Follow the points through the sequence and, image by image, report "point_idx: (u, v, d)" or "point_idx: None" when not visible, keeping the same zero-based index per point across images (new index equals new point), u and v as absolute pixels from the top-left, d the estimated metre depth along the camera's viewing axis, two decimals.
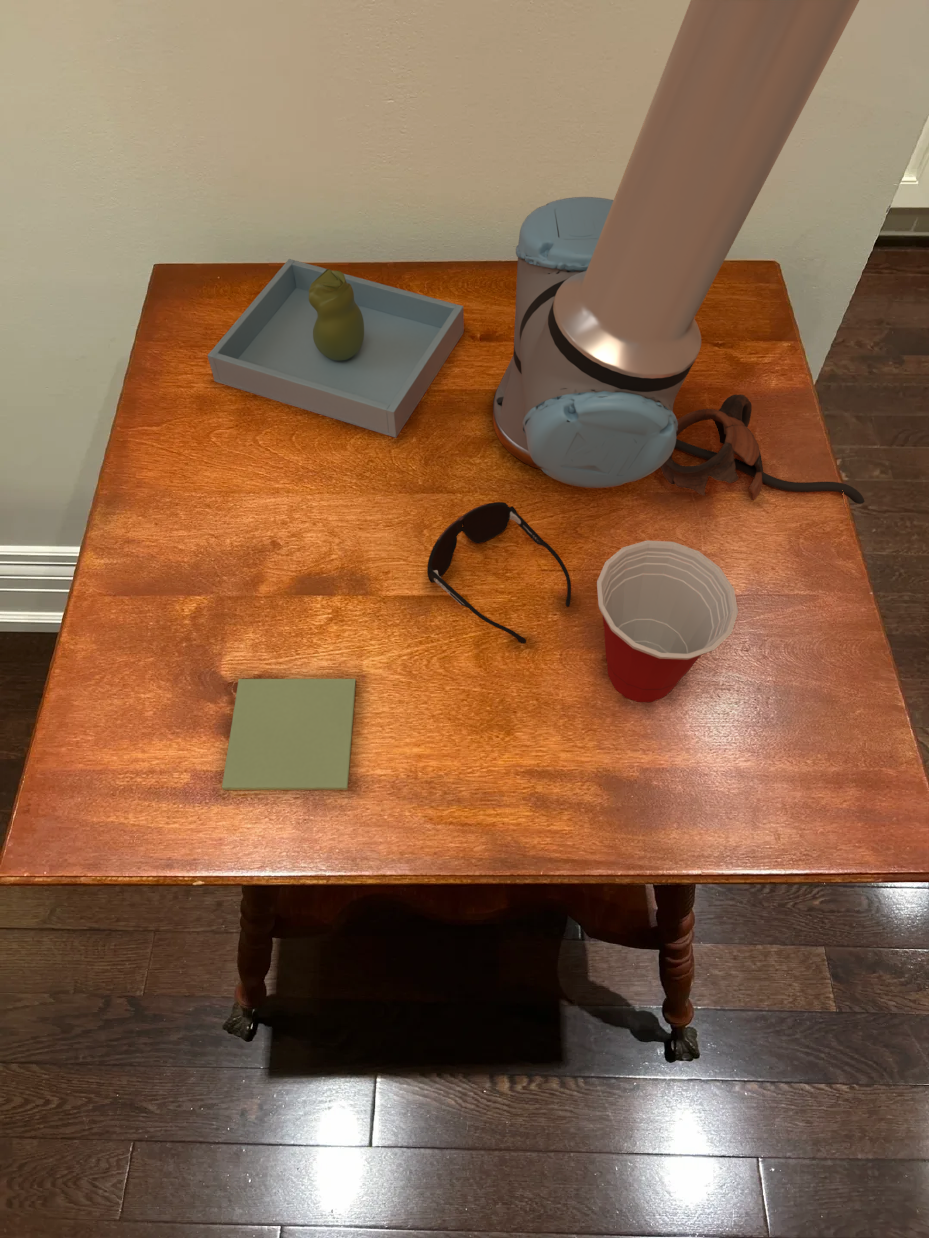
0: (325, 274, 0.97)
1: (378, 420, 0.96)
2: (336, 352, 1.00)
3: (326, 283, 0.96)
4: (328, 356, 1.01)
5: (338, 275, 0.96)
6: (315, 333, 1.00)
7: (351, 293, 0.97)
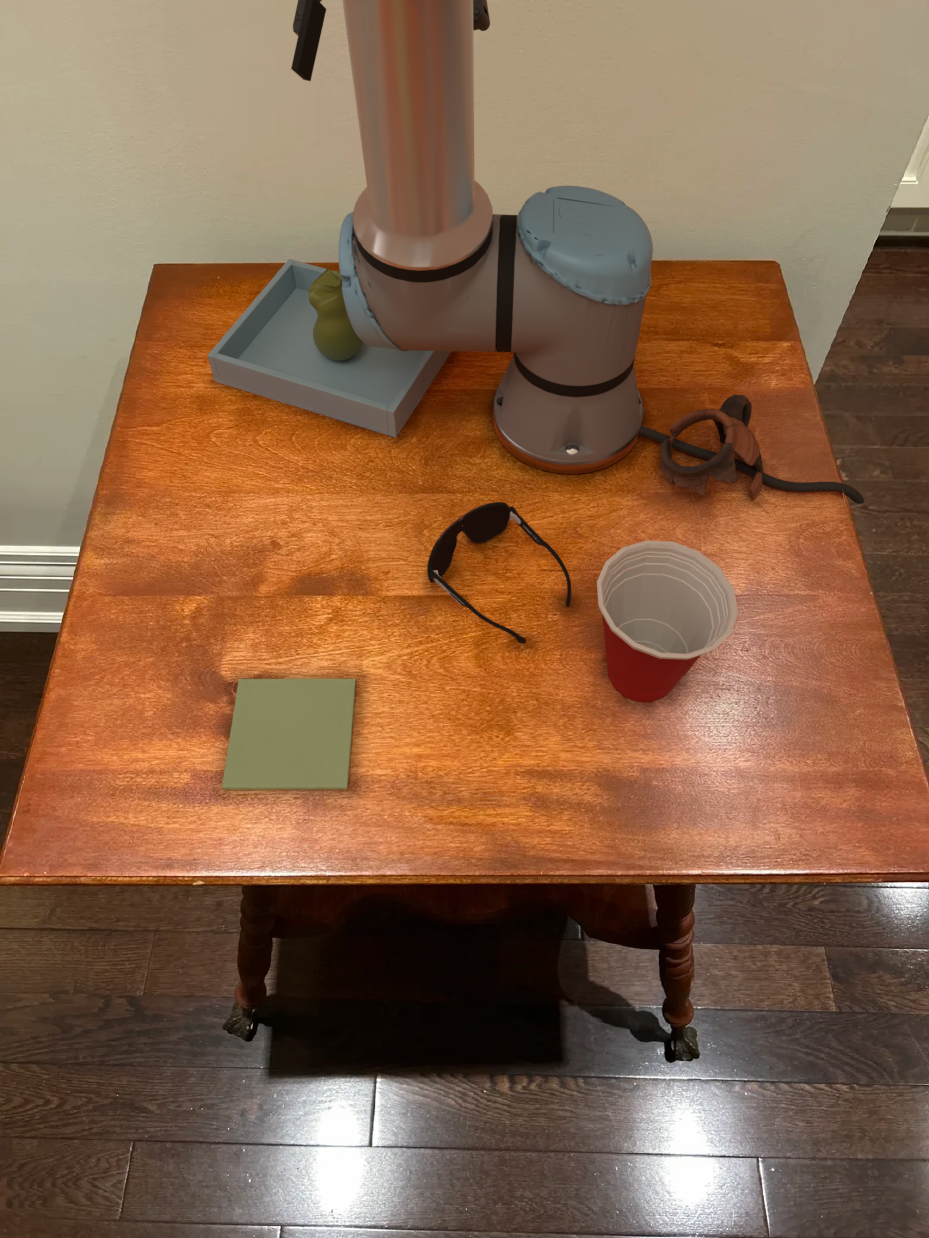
0: (325, 274, 0.97)
1: (378, 420, 0.96)
2: (336, 352, 1.00)
3: (326, 283, 0.96)
4: (328, 356, 1.01)
5: (338, 275, 0.96)
6: (315, 333, 1.00)
7: None
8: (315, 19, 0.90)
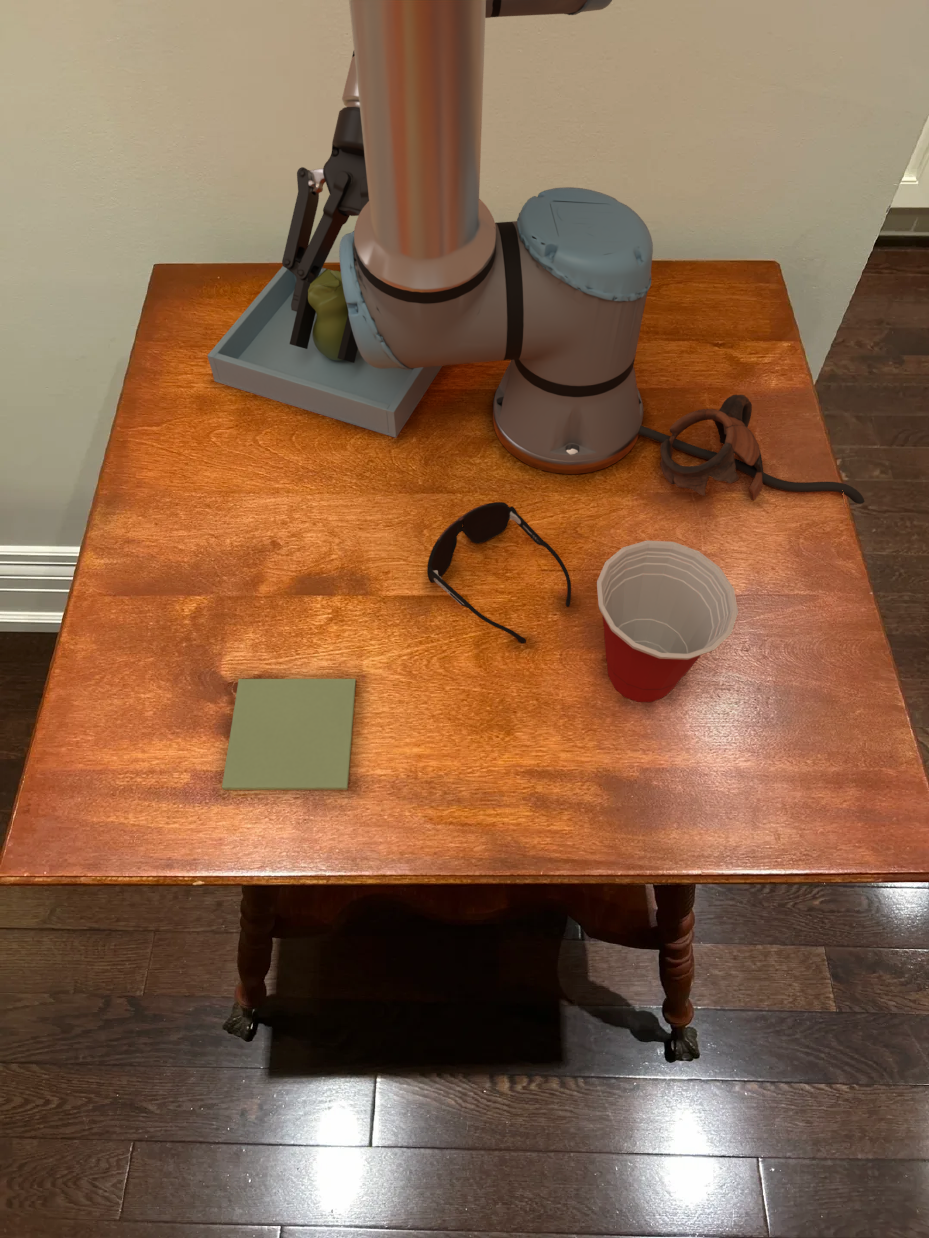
0: (324, 274, 0.97)
1: (378, 420, 0.96)
2: (335, 351, 1.00)
3: (325, 283, 0.96)
4: (328, 356, 1.01)
5: (337, 275, 0.96)
6: (314, 333, 1.00)
7: None
8: None
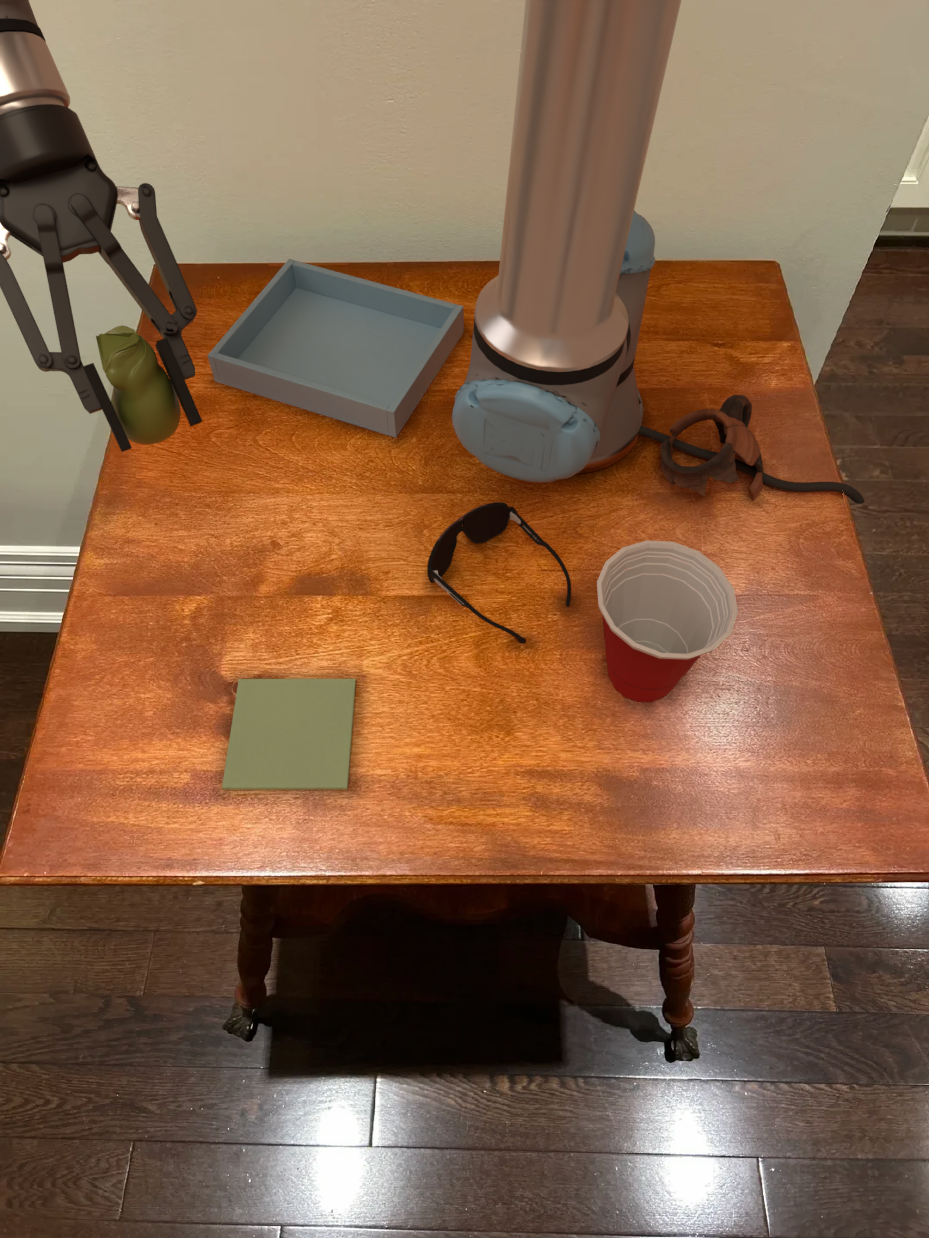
0: (104, 340, 0.70)
1: (378, 420, 0.96)
2: (169, 425, 0.74)
3: (121, 346, 0.69)
4: (158, 439, 0.75)
5: (121, 331, 0.70)
6: (132, 421, 0.73)
7: (148, 343, 0.71)
8: None
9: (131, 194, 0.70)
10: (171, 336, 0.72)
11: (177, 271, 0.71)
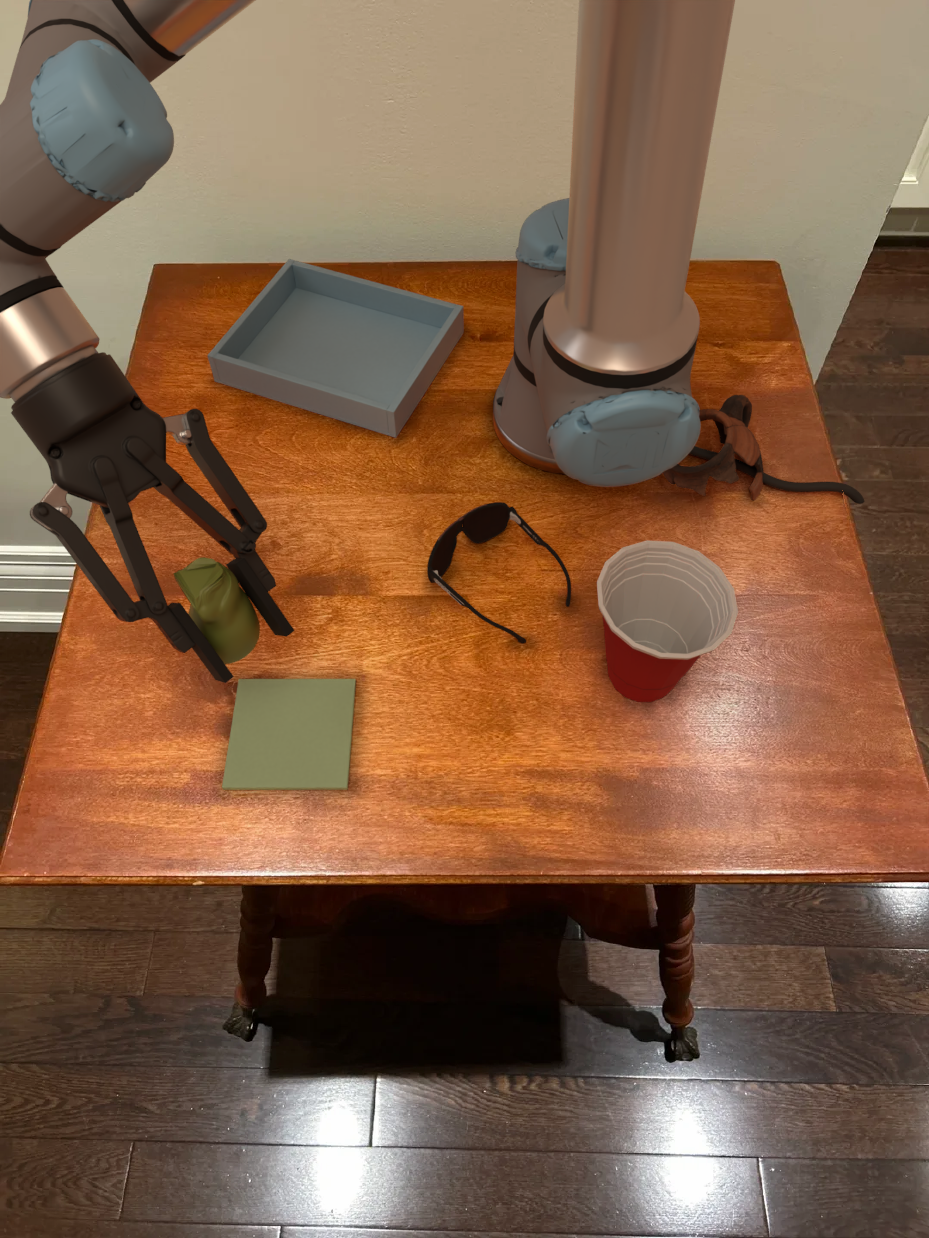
0: (186, 577, 0.66)
1: (378, 420, 0.96)
2: (255, 640, 0.72)
3: (207, 581, 0.66)
4: (244, 656, 0.72)
5: (200, 563, 0.67)
6: (222, 647, 0.70)
7: None
8: None
9: (178, 422, 0.67)
10: (246, 554, 0.69)
11: (240, 488, 0.68)
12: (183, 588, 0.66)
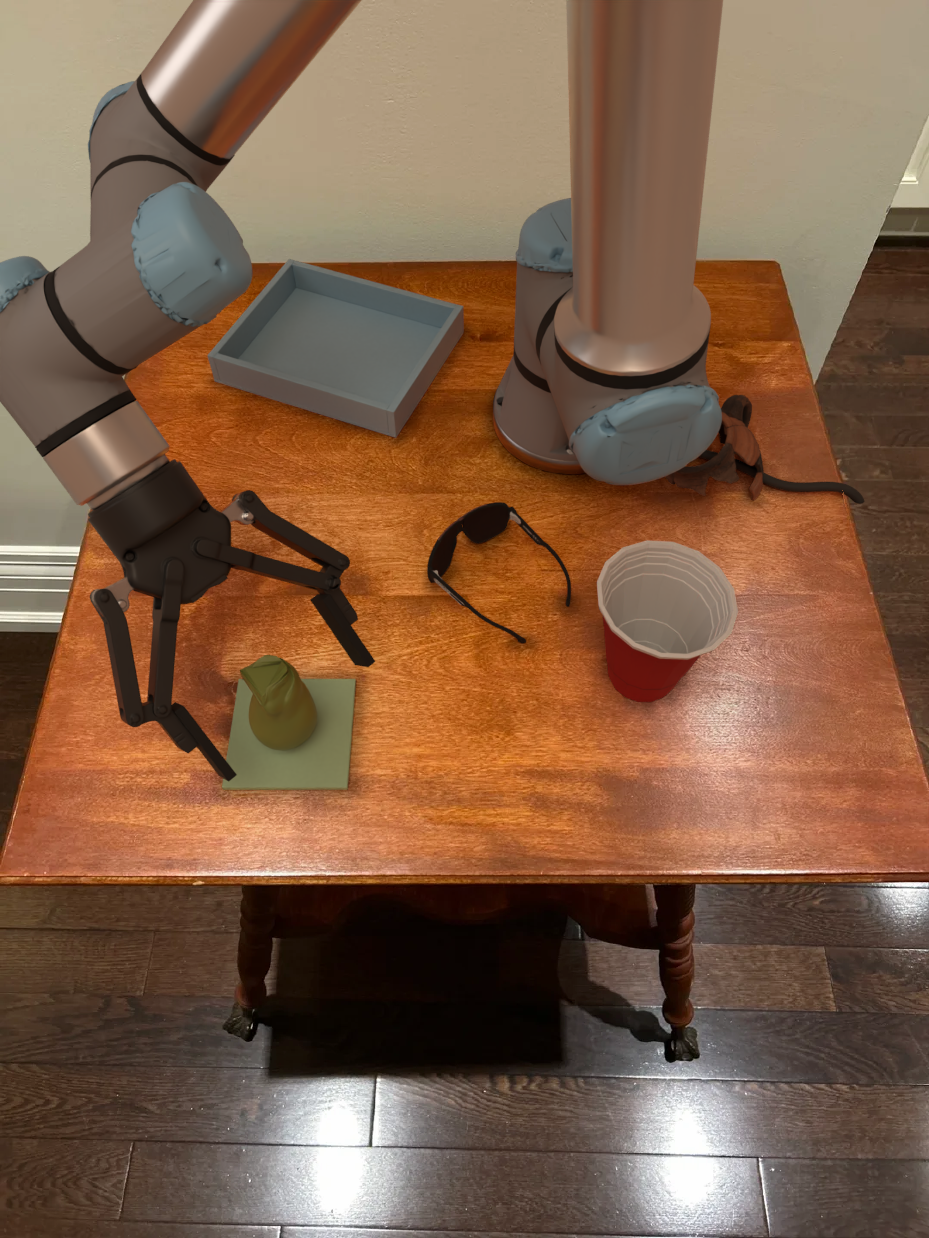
0: (252, 675, 0.70)
1: (378, 420, 0.96)
2: (313, 728, 0.76)
3: (273, 678, 0.70)
4: (303, 742, 0.76)
5: (265, 661, 0.71)
6: (283, 736, 0.74)
7: None
8: None
9: (236, 508, 0.70)
10: None
11: (314, 539, 0.72)
12: (249, 685, 0.70)
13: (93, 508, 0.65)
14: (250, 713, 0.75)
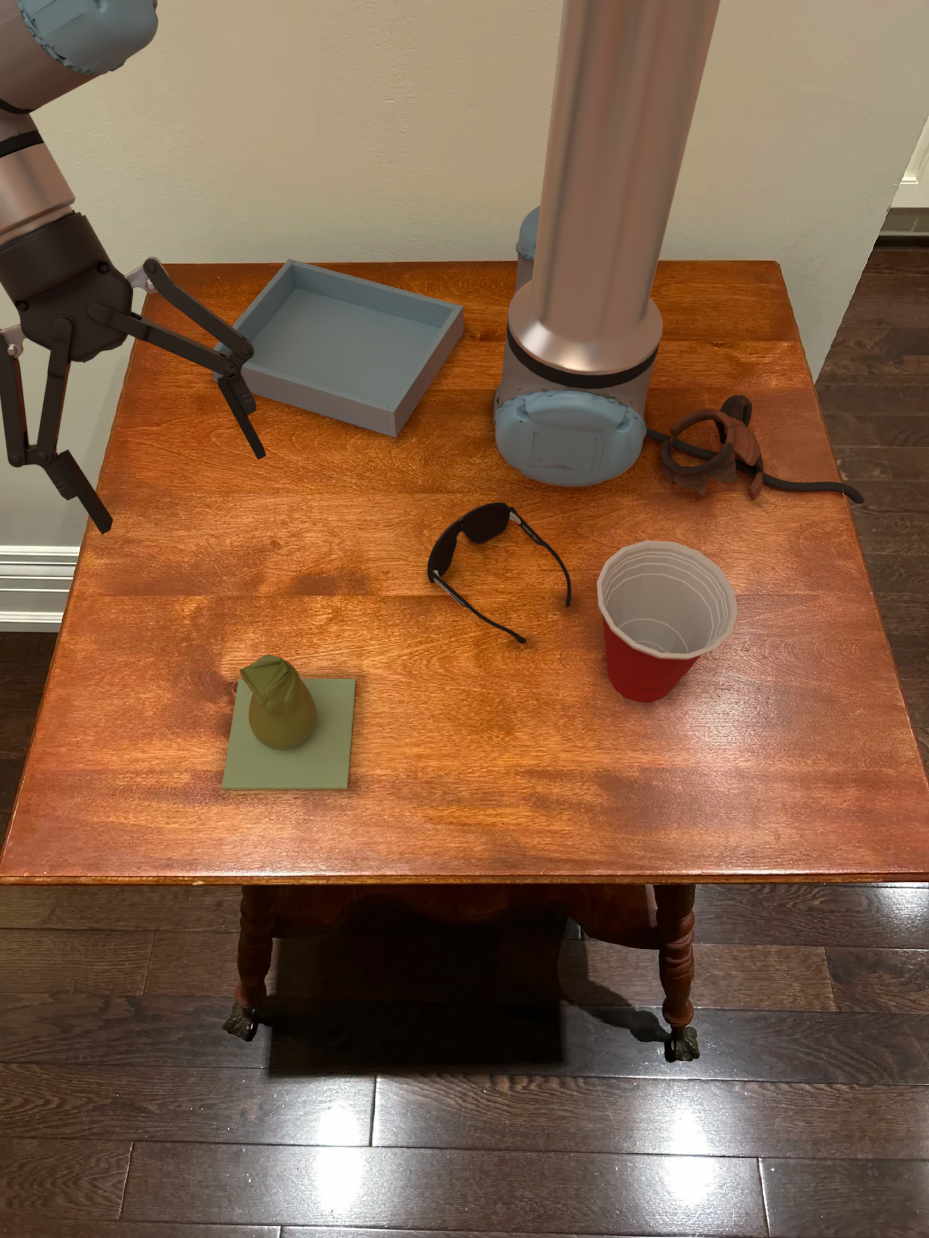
0: (252, 675, 0.70)
1: (378, 420, 0.96)
2: (313, 728, 0.76)
3: (273, 678, 0.70)
4: (303, 742, 0.76)
5: (265, 660, 0.71)
6: (283, 736, 0.74)
7: (287, 662, 0.73)
8: (77, 471, 0.74)
9: (140, 275, 0.69)
10: None
11: (217, 323, 0.71)
12: (249, 685, 0.70)
13: None
14: (250, 713, 0.75)
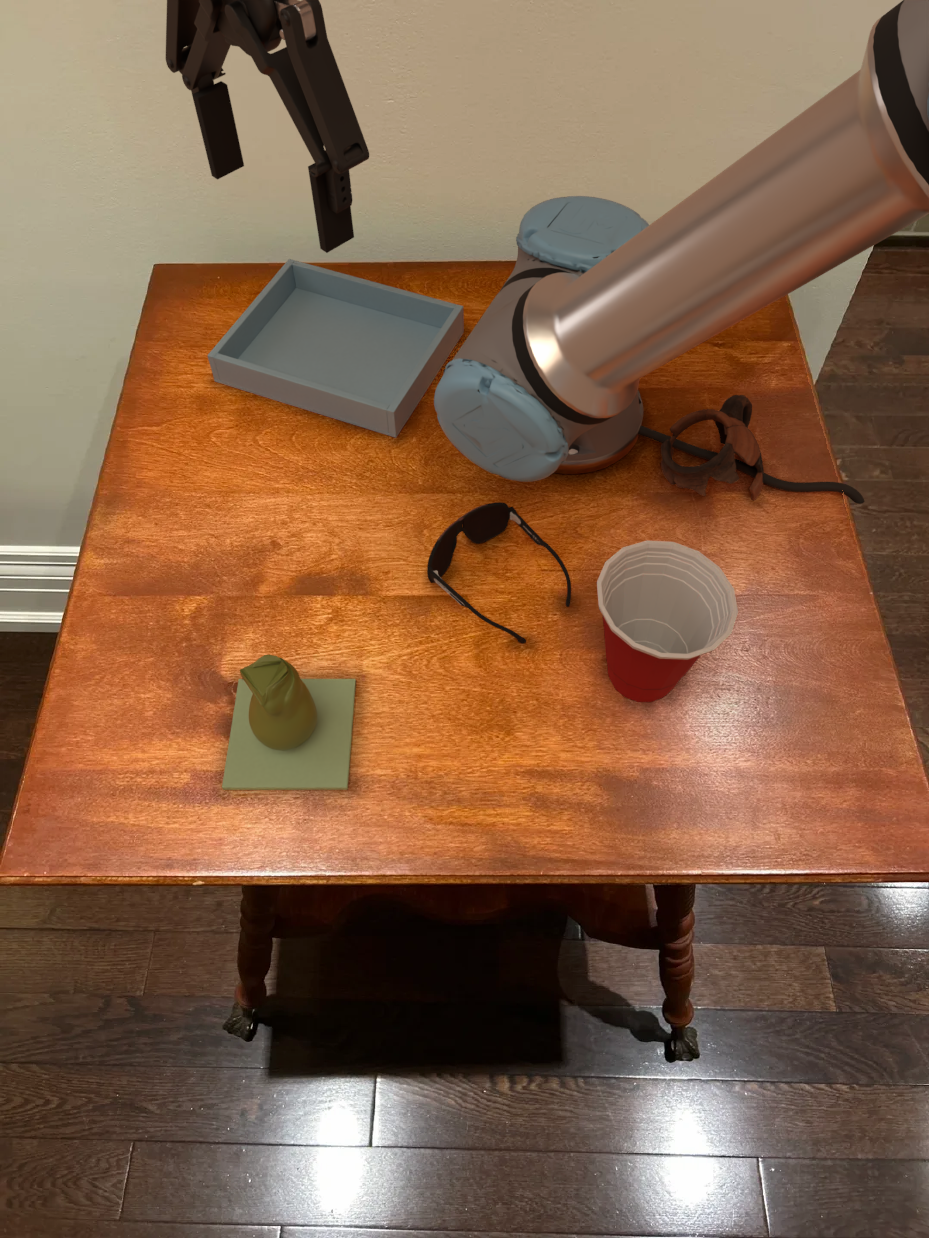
0: (252, 675, 0.70)
1: (378, 420, 0.96)
2: (313, 728, 0.76)
3: (273, 678, 0.70)
4: (303, 742, 0.76)
5: (265, 660, 0.71)
6: (283, 736, 0.74)
7: (287, 662, 0.73)
8: (214, 113, 0.73)
9: None
10: (328, 170, 0.66)
11: (322, 119, 0.62)
12: (249, 685, 0.70)
13: None
14: (250, 713, 0.75)
